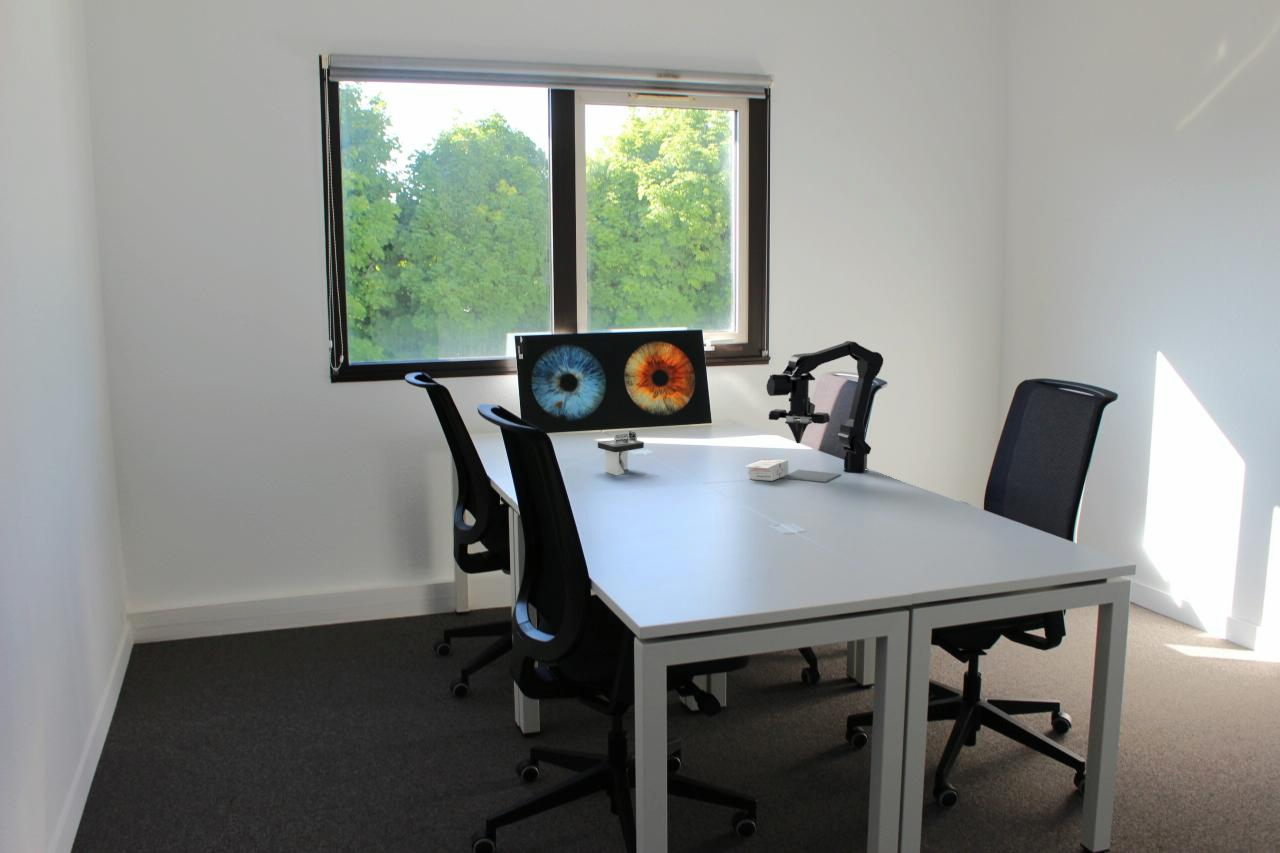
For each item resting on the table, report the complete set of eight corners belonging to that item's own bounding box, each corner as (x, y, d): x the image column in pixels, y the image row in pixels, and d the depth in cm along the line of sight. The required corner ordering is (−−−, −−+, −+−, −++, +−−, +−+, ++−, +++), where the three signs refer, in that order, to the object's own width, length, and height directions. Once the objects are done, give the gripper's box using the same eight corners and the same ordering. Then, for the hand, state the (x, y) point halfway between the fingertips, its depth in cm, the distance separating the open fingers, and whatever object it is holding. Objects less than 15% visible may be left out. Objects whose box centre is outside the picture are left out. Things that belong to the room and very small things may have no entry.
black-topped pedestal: (607, 485, 336) (606, 442, 334) (564, 471, 357) (564, 431, 355) (680, 475, 351) (681, 434, 349) (636, 462, 373) (636, 424, 371)
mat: (840, 475, 349) (840, 473, 349) (825, 482, 337) (825, 481, 337) (798, 470, 356) (798, 469, 356) (781, 478, 344) (781, 476, 344)
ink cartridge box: (765, 473, 352) (744, 481, 340) (764, 458, 352) (743, 465, 340) (789, 475, 348) (768, 482, 336) (788, 459, 347) (768, 466, 335)
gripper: (836, 393, 347) (835, 441, 350) (782, 390, 357) (781, 437, 359) (823, 397, 338) (822, 447, 340) (768, 393, 347) (767, 442, 350)
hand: (798, 443), depth 348 cm, fingers closed
